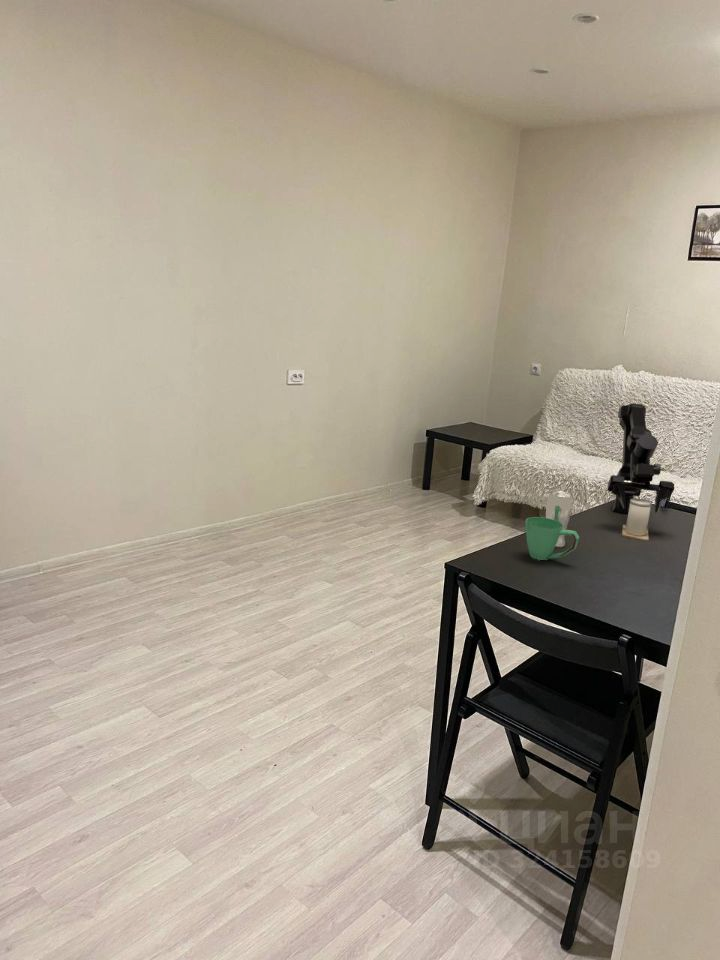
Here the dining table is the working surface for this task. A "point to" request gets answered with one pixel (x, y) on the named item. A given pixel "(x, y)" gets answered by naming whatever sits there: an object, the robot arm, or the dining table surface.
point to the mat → (625, 534)
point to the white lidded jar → (638, 517)
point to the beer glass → (559, 510)
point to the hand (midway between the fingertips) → (640, 510)
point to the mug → (546, 537)
